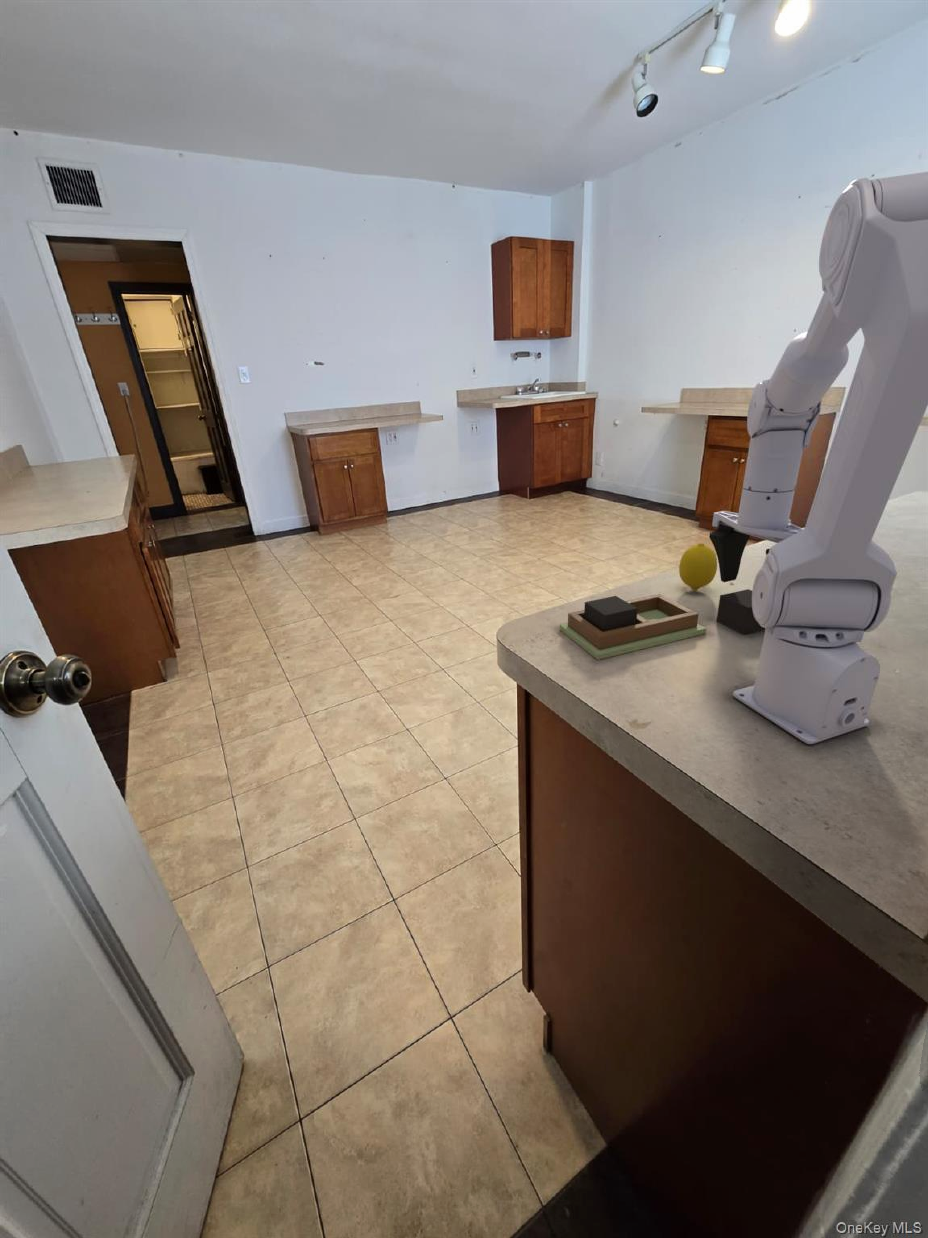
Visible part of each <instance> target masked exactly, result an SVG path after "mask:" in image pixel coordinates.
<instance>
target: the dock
mask: <svg viewBox="0 0 928 1238" xmlns="http://www.w3.org/2000/svg"><path fill="white" fill-rule="evenodd" d="M625 601H626V602H627V603H629V604H631V605H633V606H634V607H636V608H637V621H636V625H632V626H627V627H623V628H618V629H614V630H610V631H605V632H602V631H600V630H599V629H598V628H596V627H595V626H593V625H592V624H591V623H589V622H588V621H586V620H585V619H584V609H582V610H576V611H572V612H568V613H567V622H565V623H560V624H559V631H561V632H562V633H564V634H565V635H566V636H567V637H569V639H571V640H572V641H573V642H575V643H576V644H577V645H578V646H580V648H582V649H583V650H585V651H586V652H587V653H589V655H591V656H592V657H593V658H594V659H596V660H597V661H599V660H603V659H607V658H612V657H615V656H616V657H617V656H619V655H624V654H628V653H632V652H637V651H640V650H644V649H648V648H653V647H657V646H661V645H664V644H668V643H673V642H677V641H681V640H685V639H689V638H693V637H697V636H698V637H699V636H701V635H705V634H707V628H706V626H704V625H701V624H699V623H698V622H699V614H700V613H698V612H696V611H694V610H692V609H691V608H688V607H686V606H684V605H683V604H680V603H679V602H677V601H675V600H672V599H671V598H669V597H667V596H664V595H662V594H661V593H657V594H656V593H655V594H652V595H646V596H643V597H638V598H633V599H629V600H628V599H627V600H625Z"/></svg>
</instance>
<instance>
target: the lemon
mask: <svg viewBox="0 0 928 1238" xmlns="http://www.w3.org/2000/svg"><path fill="white" fill-rule="evenodd" d="M717 570H718V558H717V554H716V552H715V550H713V549H712V548H711V547H710V546H709V545H708V546H707V545H706V544H704V542H698V543H697V544H693V545H692V546H690V547H688V548H687V549H686V550H685V551H684V552H683V554H682V556H681V558H680V561H679V567H678V573H679V577H680V579H681V581H682V582H683V583H684V585H686V586H687V587H690V588H691V589H692V590H693V591H698V590H699V589H701V588H704V587H706V586H708V585H710V584H711V583H712V581H713V580H714V579H715V577H716V574H717Z"/></svg>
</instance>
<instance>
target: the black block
mask: <svg viewBox="0 0 928 1238" xmlns="http://www.w3.org/2000/svg"><path fill="white" fill-rule="evenodd" d="M752 590H753V589H749V588H747V589H743V590H738V591H733V592H729V593H724V594H721V595H719V600H718V606H717V614H716V619H715V621H716V622H718V623H720V624H722V625H724V626H725V627H727V628H730V629H731V630H733V631H735V632H737V633H740V634H742V635H744V636H745V635H749V634H753V633H757V632H760V631H765V629H766V628H764V627H762V626H761V625H760V624H759V623H758V622H757V621H756V619H755V617H754V615H753V610H752Z"/></svg>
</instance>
